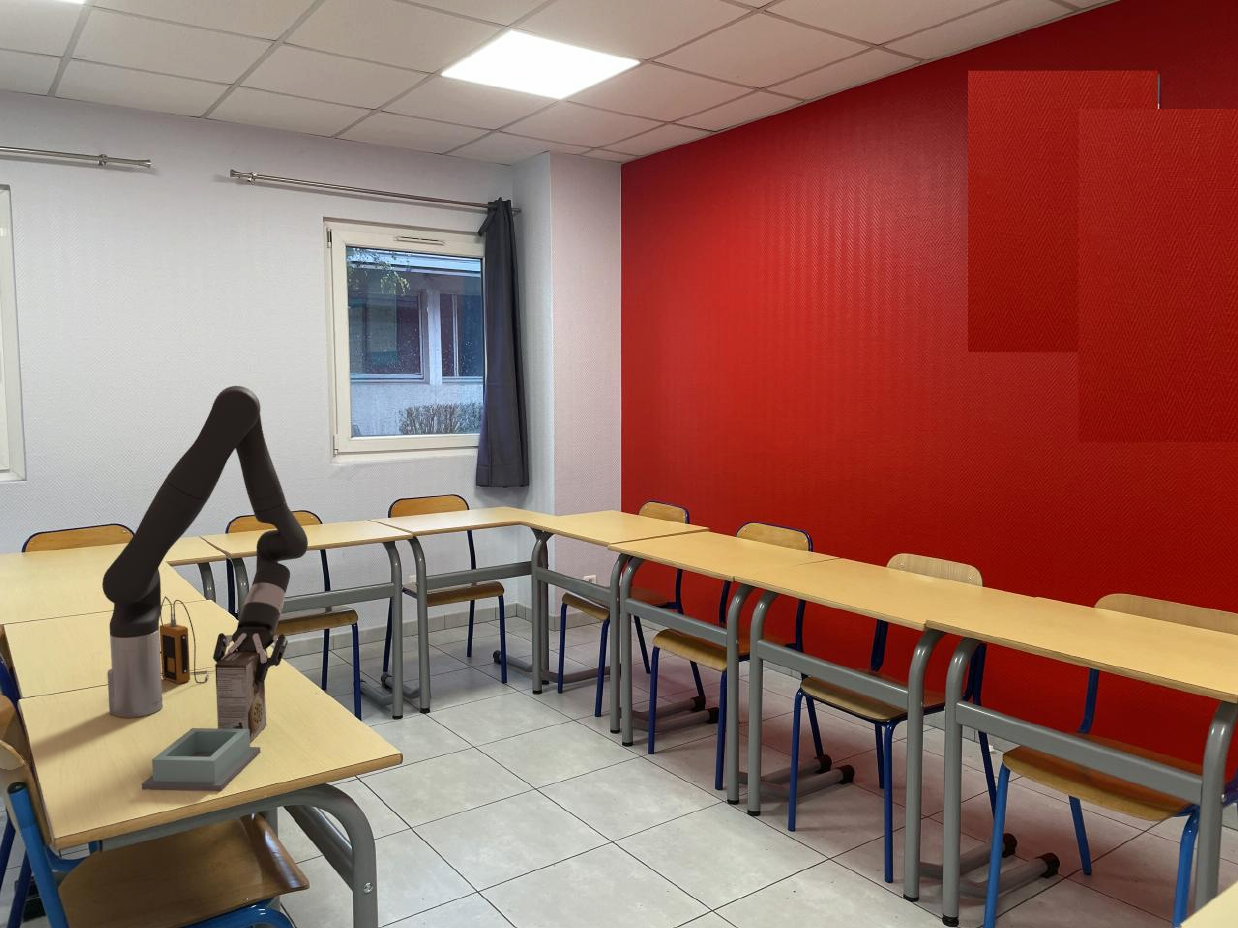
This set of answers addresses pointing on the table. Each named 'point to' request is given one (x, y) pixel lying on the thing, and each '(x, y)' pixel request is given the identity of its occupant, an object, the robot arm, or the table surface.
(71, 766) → the table surface
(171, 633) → the multimeter
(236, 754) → the box
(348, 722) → the table surface
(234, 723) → the coffee box
